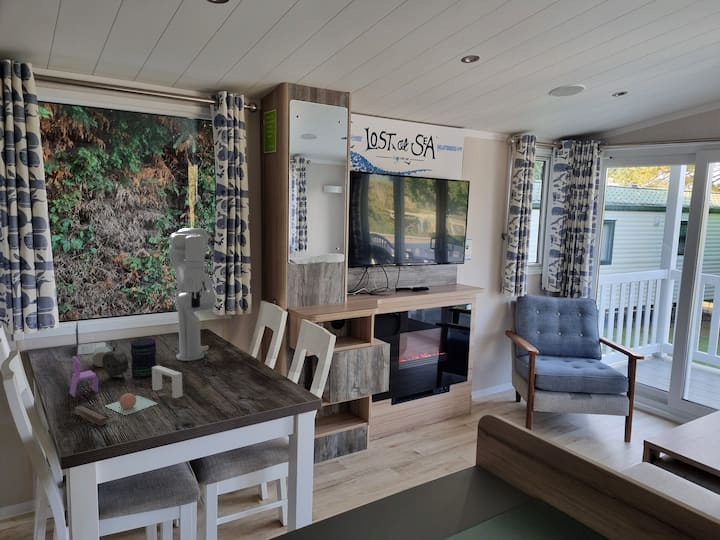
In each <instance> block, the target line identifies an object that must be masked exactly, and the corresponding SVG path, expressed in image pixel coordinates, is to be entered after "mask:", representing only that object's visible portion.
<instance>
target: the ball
mask: <svg viewBox="0 0 720 540" xmlns="http://www.w3.org/2000/svg"><path fill="white" fill-rule="evenodd" d="M135 396H136V395H135V394H133V393H125V394H123V395H121V397H120V399H119V401H120V406H121V407H122V408H124V409H130V408H132V407H134V406H135V404H136V397H135Z"/></svg>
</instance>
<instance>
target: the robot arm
mask: <svg viewBox="0 0 720 540" xmlns="http://www.w3.org/2000/svg"><path fill="white" fill-rule="evenodd" d="M169 244H170V245H169V246H168V257H169V261H170V264H171V266H172V268H173V269H174V272H175V278H176V284H177V290H178V291H179V292H180V293H179V294H177V296H176V300H175V303H176V309H177V315H178V316H177V317H178V343H179V352H178V353H177V354H176V355H175V358H176V359H177V360H178V361H182V362H190V361H197V360H201V359H203V358H204V357H205V353H204V351H207V350H208V349H209V345H201V321H200V317H198V315H197V314H195V313H197V312H208V311H212V310H214V309H215V306H216V296H215V295H216V294H215V292H214V291H215V289H214V285H213V281H212V278H211V276H210V275H209V274H207V273H206V269H205V257H206V255H207V250H208V244H209V235H208V232H207V230H206V229H204V228H203V227H202V228H201V227H199V228H198V227H195V228H194V227H190V228H189V227H188V228H187V227H186V228H185V227H184V228H180V229H179V230H178V231H175V232H173V233H171V234H170V238H169Z"/></svg>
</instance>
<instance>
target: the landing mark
mask: <svg viewBox="0 0 720 540" xmlns="http://www.w3.org/2000/svg"><path fill="white" fill-rule="evenodd" d="M134 396H135V397H136V404H135V406H134V407H132V408H130V409H124V408H122V409H121V406H120V400H119V401H116V402H113V403H109V404H106V405H104V406H105V408H106V407H107V409H109V410H111V409H112V410H111V411H113V410H114V411H113V412H115V411H116V412H115V413H118V412H119V413H118V414H120V413H121V414H120V415H122V414H123V415H122V416H124V415H126V416H129V415H131V414H135V413H137V412H139V411H143V410H146V409H147V408H150V406H151V407H154V406H156V405H159V403H158V402H155V401H154V400H150V399H148V398H146V397H143V396H140V395H138V394H137V395H134ZM153 405H154V406H153ZM119 407H120V408H119ZM123 409H124V410H123ZM142 409H143V410H142ZM128 414H129V415H128Z"/></svg>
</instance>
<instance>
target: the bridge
mask: <svg viewBox="0 0 720 540" xmlns="http://www.w3.org/2000/svg"><path fill="white" fill-rule="evenodd" d="M163 375H164V376H167V377H171V391H172V392H171V393H172V395H171V397H172V398H173V399H178V398H181V397H183V373H182V372H180V371H176V370H173V369H170V368H168V367H164V366H161V365H158V364H157V365H156V366H155V367H152V378H151V383H152V385H151V387H152V390H153V391H154V390H155V391H154V392H157V391H160V390H162V389H163Z"/></svg>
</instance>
